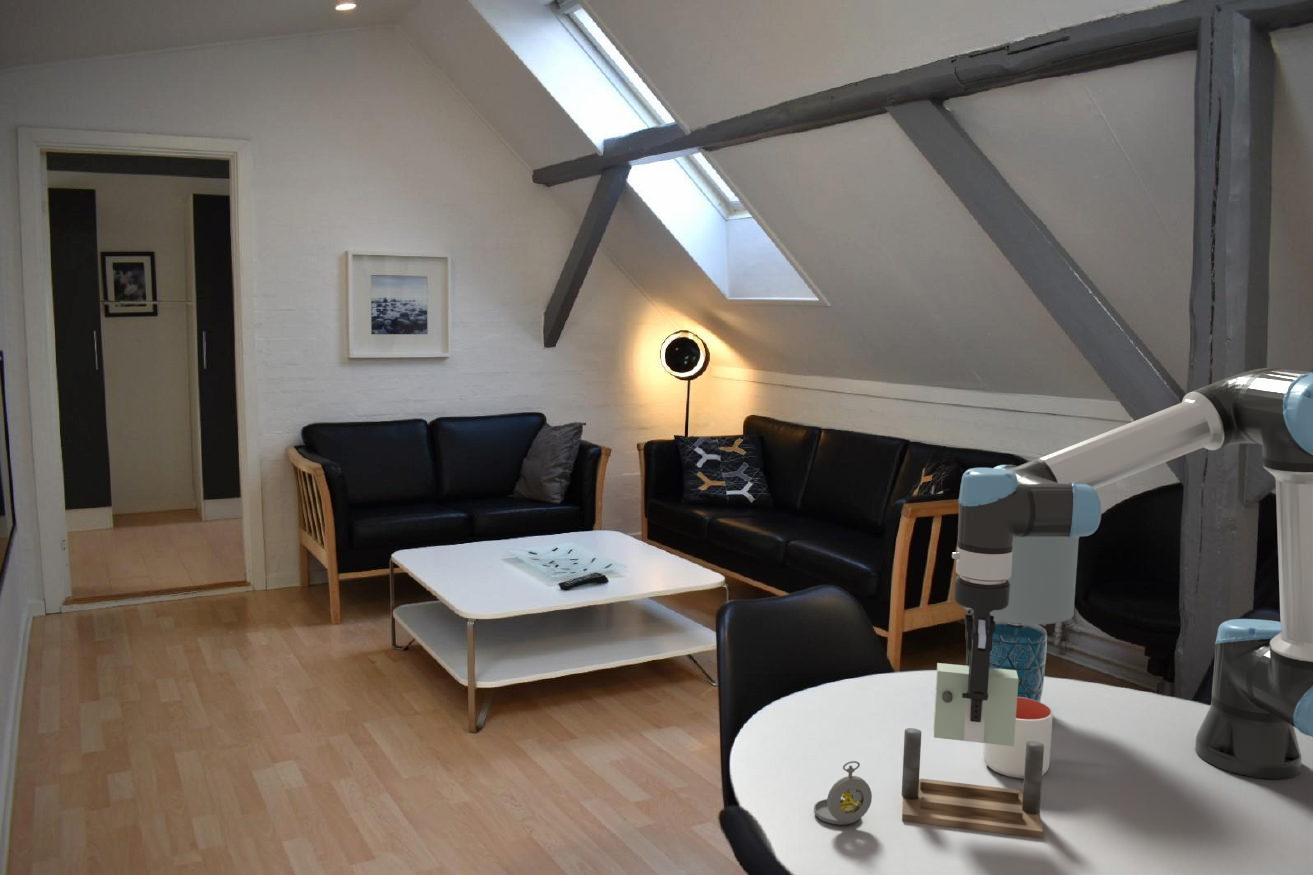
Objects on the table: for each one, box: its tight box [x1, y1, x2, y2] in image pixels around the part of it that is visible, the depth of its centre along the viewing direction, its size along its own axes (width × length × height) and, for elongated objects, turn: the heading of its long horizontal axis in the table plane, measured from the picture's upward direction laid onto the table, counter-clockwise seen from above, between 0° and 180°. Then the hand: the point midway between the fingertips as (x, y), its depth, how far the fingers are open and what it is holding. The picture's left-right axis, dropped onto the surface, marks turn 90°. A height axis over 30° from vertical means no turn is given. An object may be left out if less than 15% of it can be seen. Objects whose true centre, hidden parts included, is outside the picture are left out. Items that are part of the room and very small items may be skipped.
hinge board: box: [901, 727, 1044, 839], centre depth 155 cm, size 19×12×11 cm, turn 76°
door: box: [933, 662, 1018, 746], centre depth 153 cm, size 11×4×10 cm, turn 76°
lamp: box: [963, 537, 1080, 702], centre depth 192 cm, size 19×19×38 cm
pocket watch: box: [813, 760, 873, 826], centre depth 151 cm, size 8×8×10 cm
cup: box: [982, 697, 1054, 780], centre depth 169 cm, size 10×10×10 cm
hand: (972, 734), depth 154 cm, fingers closed on door, 3 cm apart
